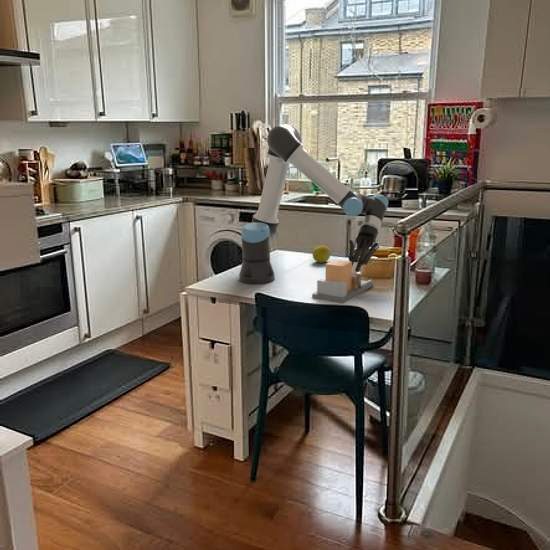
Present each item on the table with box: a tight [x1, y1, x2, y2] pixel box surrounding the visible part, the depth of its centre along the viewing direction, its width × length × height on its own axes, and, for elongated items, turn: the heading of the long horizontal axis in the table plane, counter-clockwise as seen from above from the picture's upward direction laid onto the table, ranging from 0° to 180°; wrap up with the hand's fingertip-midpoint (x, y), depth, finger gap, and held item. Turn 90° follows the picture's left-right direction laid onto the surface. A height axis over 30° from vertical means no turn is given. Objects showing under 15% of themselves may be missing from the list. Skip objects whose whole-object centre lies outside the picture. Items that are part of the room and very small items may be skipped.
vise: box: [311, 278, 374, 304], centre depth 215 cm, size 26×13×6 cm, turn 145°
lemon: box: [312, 245, 332, 264], centre depth 260 cm, size 11×8×8 cm
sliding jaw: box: [352, 272, 362, 289], centre depth 217 cm, size 5×10×5 cm, turn 55°
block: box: [325, 259, 352, 291], centre depth 211 cm, size 8×7×11 cm
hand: (351, 277), depth 220 cm, fingers closed
